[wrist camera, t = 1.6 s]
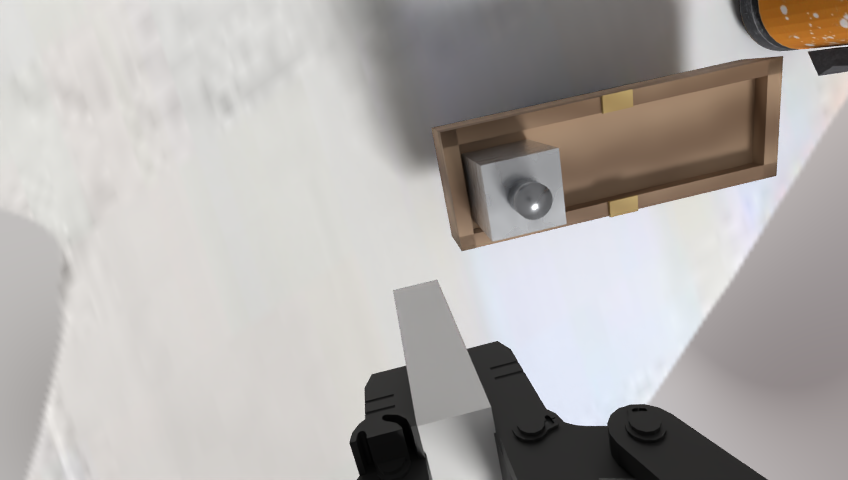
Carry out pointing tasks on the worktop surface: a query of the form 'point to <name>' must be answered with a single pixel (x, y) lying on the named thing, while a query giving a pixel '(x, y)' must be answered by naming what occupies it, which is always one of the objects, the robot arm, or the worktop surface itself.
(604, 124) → the beam
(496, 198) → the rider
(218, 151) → the worktop surface
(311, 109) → the worktop surface
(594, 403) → the worktop surface
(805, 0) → the canister
